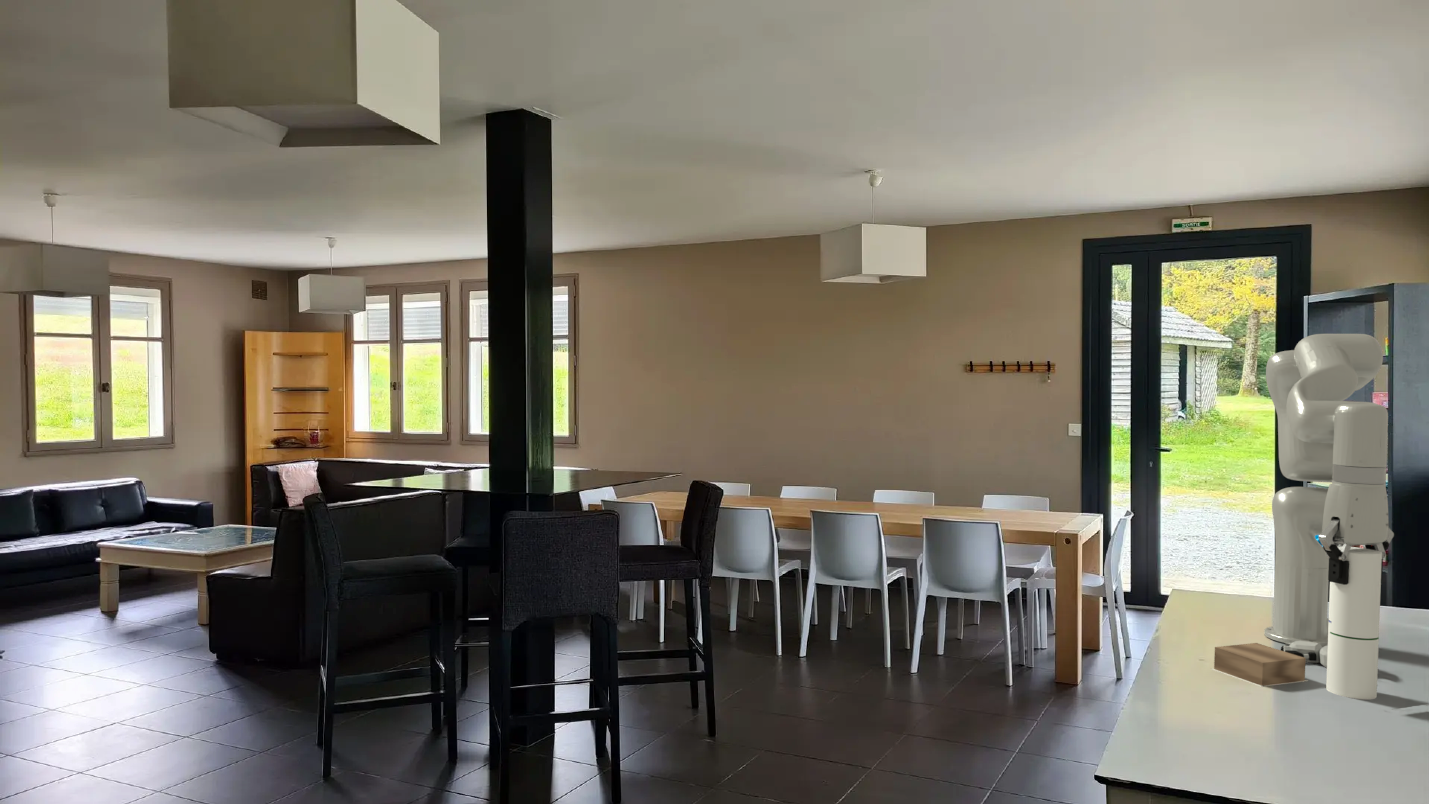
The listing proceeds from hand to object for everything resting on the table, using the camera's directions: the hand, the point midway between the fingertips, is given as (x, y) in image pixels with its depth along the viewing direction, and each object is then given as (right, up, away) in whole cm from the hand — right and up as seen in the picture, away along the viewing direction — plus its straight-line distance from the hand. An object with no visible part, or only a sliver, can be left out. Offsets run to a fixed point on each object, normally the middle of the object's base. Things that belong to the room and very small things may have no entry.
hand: (1355, 580), depth 164 cm
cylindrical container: (0, -20, +1) cm, 20 cm away
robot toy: (+6, -20, +18) cm, 27 cm away
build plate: (-11, -19, +9) cm, 24 cm away
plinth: (-11, -18, +9) cm, 23 cm away
